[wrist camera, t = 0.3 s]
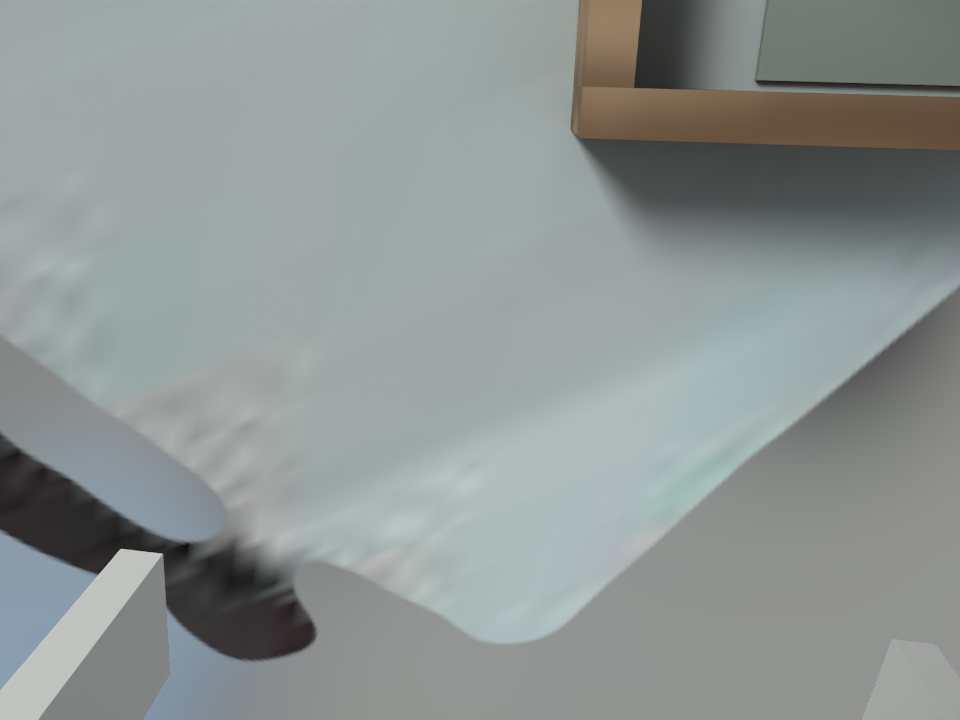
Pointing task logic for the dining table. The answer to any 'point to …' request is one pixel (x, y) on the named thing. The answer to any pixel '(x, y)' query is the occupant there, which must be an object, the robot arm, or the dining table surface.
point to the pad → (861, 41)
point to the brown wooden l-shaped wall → (733, 102)
